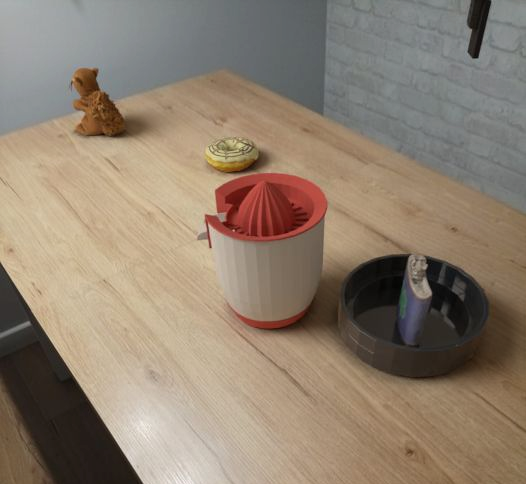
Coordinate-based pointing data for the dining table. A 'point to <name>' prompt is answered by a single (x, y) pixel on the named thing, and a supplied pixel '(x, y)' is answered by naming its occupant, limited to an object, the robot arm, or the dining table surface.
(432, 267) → the bowl
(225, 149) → the decorated donut
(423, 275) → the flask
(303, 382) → the dining table surface
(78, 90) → the stuffed squirrel
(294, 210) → the citrus juicer
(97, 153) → the dining table surface
